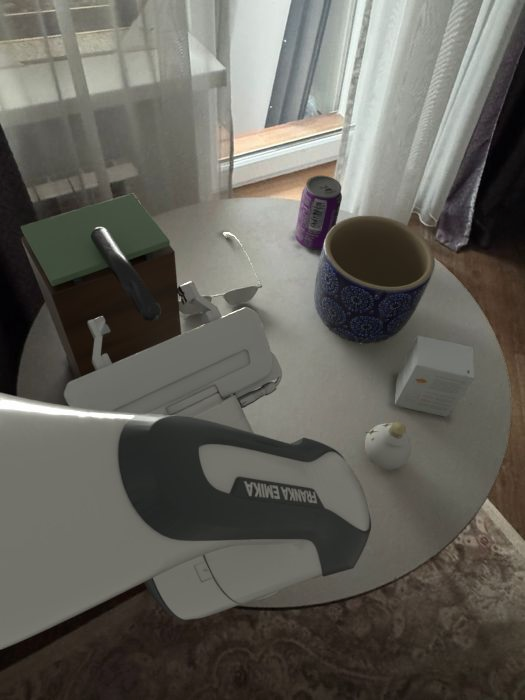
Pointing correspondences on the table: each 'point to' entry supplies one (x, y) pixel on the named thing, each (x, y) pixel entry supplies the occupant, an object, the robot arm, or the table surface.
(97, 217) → the door
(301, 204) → the beverage can
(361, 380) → the table surface
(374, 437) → the ornament
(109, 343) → the cabinet
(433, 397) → the small box
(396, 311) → the planter
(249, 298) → the eyeglasses
